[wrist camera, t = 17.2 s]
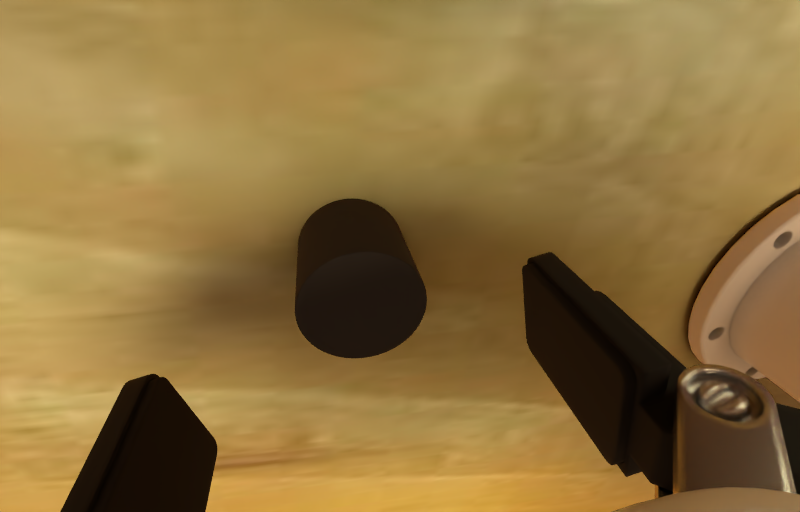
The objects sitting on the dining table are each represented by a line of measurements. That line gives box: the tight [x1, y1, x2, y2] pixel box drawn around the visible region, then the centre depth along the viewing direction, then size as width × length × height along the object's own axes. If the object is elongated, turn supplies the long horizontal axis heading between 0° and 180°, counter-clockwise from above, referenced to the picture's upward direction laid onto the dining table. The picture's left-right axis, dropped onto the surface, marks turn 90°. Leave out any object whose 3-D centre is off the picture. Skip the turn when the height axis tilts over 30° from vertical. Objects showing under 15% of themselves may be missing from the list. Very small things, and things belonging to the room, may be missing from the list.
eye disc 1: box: [295, 199, 427, 358], centre depth 14 cm, size 4×4×4 cm
